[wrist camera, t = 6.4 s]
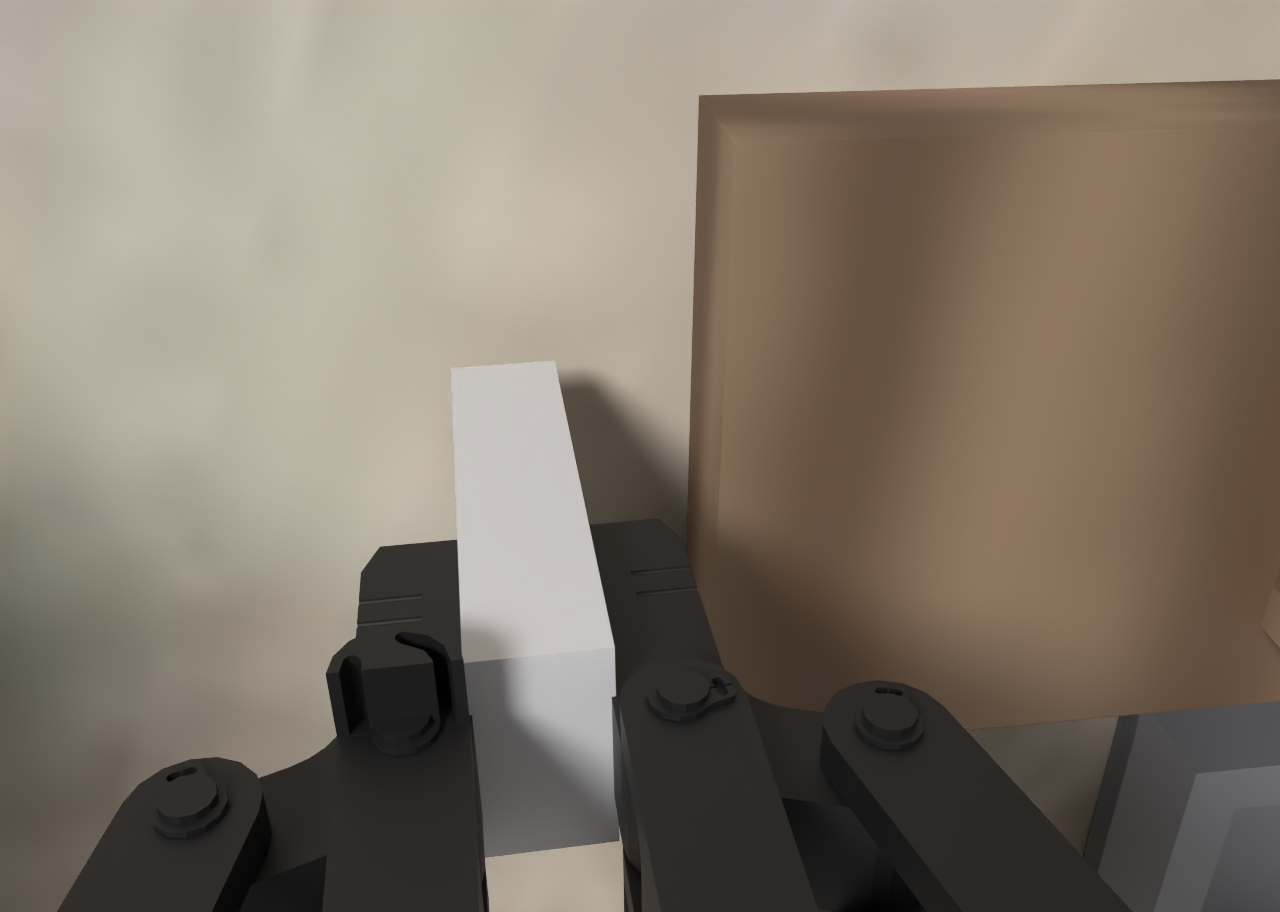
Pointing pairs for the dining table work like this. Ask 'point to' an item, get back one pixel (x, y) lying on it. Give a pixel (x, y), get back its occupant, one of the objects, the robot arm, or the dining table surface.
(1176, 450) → the brown flat block
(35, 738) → the dining table surface
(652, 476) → the dining table surface
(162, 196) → the dining table surface
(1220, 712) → the tray
